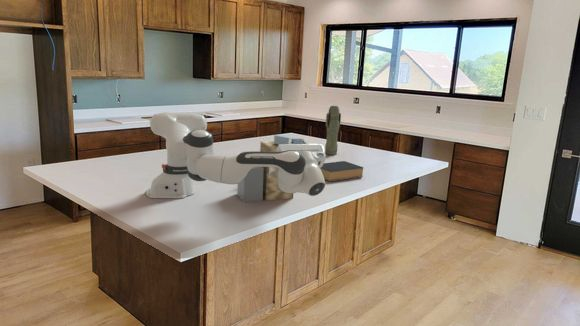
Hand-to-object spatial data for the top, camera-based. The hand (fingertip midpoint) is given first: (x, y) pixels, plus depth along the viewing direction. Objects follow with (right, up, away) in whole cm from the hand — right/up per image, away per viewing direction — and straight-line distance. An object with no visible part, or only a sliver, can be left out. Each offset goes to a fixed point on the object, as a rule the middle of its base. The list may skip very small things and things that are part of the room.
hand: (295, 139), depth 186 cm
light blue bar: (-4, -2, +10) cm, 11 cm away
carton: (-10, -26, +29) cm, 40 cm away
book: (+25, -18, +72) cm, 78 cm away
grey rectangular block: (-22, -27, +23) cm, 42 cm away
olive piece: (+28, -3, +134) cm, 137 cm away
